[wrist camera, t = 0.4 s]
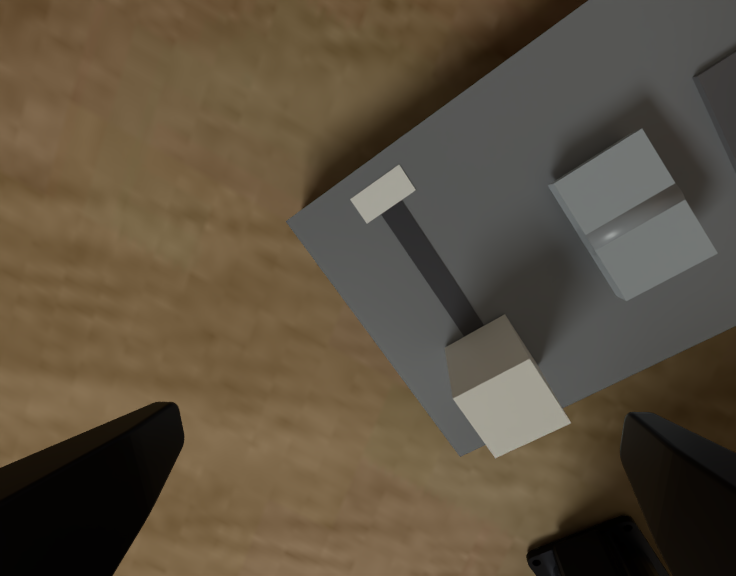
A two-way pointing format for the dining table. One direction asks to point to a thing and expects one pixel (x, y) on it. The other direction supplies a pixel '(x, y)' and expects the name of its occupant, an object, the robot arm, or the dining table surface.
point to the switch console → (542, 206)
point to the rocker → (632, 216)
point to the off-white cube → (502, 388)
